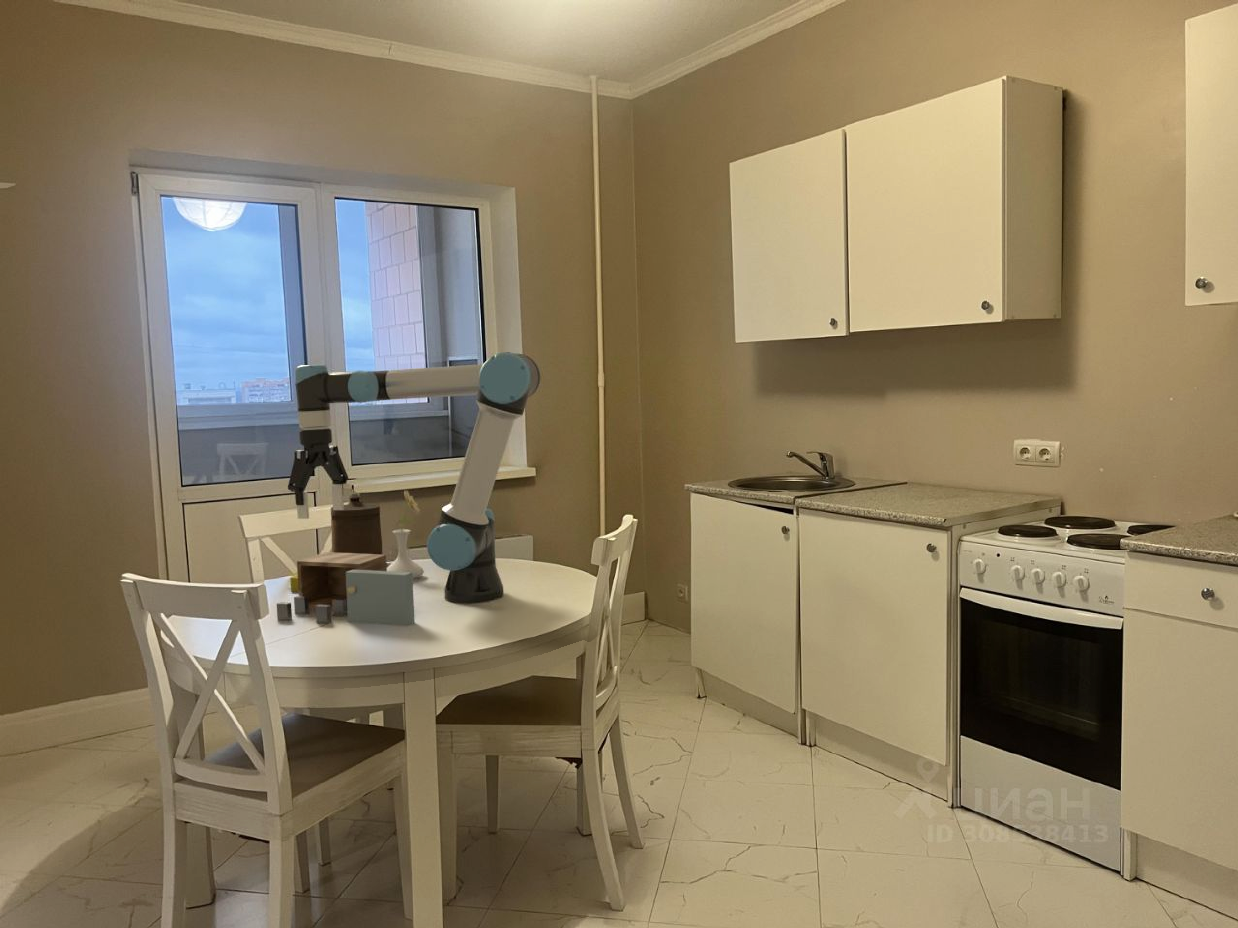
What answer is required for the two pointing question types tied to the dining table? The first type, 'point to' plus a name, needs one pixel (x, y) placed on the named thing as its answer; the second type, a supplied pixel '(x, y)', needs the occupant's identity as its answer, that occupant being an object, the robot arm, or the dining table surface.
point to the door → (380, 597)
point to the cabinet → (332, 574)
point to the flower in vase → (403, 560)
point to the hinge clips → (303, 607)
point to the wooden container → (356, 528)
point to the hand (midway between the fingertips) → (321, 514)
